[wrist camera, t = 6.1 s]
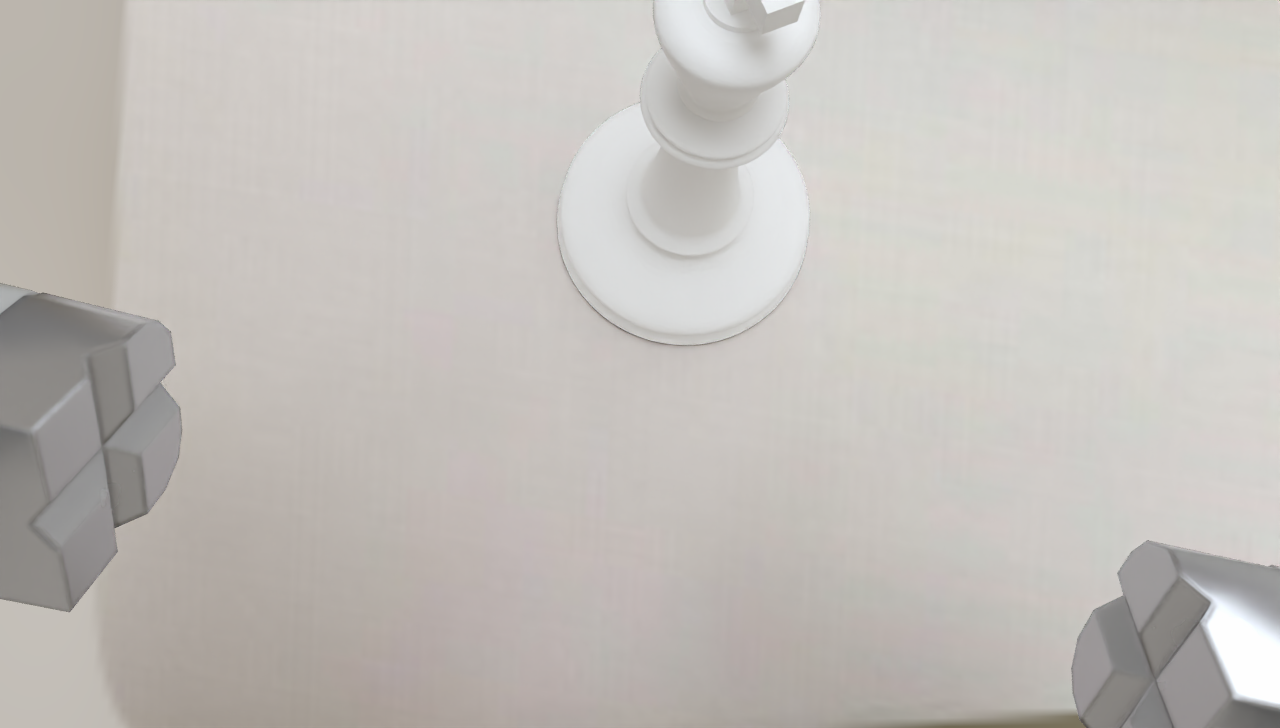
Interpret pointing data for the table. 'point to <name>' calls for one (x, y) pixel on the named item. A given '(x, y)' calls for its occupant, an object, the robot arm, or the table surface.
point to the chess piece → (695, 178)
